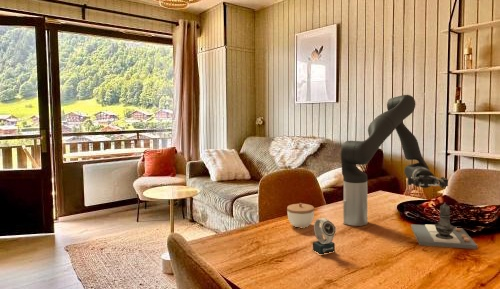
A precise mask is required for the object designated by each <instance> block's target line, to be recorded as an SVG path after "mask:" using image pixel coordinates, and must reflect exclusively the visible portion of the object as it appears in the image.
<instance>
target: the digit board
mask: <svg viewBox="0 0 500 289" xmlns="http://www.w3.org/2000/svg"><path fill="white" fill-rule="evenodd" d="M410 225H411V226H410V227H411V230H412V232H413V234H414V236H415V239H416V241H417V243H418V245H419V246H425V247H426V246H429V247H442V248H443V247H444V248H454V249H455V248H458V249H472V250H478V244H477V243H476V242H475V241H474V240H473V238H472V237H471V236H469V234H468V233H467V231H466V230H465V229H464V228H457V227H458V226H454V229H453V232H452V233H451V234H450V235H451V236H453V239H441V238H438V237H436V234H438V232H437V230H436V227H435V224H428V223H427V224H413V223H412V224H410Z"/></svg>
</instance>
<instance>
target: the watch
mask: <svg viewBox="0 0 500 289" xmlns="http://www.w3.org/2000/svg"><path fill="white" fill-rule="evenodd" d="M313 229H314V230H313V231H314V234H315V238H316V241H313V242H312V251H313V250H314V251H316V252H318V253H319V254H324V253H329V252H333V251H335V252H336V250H335V246H336V244H335V242H334V238H335V234H336V226H335V224H334V223H333V222H332V221H330V220H329V219H327V218H325V217H322V218H317V219H316V220H315V221H314V224H313Z"/></svg>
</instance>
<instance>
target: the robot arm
mask: <svg viewBox="0 0 500 289" xmlns="http://www.w3.org/2000/svg"><path fill="white" fill-rule="evenodd" d="M386 108H387V110H386V111H384V112H382V113H381V114H379V115H378V116H376V117H375V118H374V119H373V120H372V121H371V122H370V123H369V125H368V128H367V133H368V137H367V138H366V139H365V140H345V141H344V142H343V143H342V145H341V149H340V160H341V161H340V164H341V175H342V179H343V181H342V182H343V201H342V202H343V208H342V209H343V213H342V214H343V225H349V226H353V227H357V226H358V227H362V226H366V225H368V218H369V217H368V174H367V173H366V172H364V171H362V170H361V169H359V168H358V166H357V165H361V166H362V165H366V164H369V163H370V161H371V160H372V158H373V157H374V156H375V154H376V153H377V151H378V150H379V148H380V147H381V146H382V145H383V144H384V142H385V141H386V140H387V139H388V138H389V137H390V136H391V135H392V133H393V132H394V131H396V133H397V135H398V138H399V141H400V143H401V148H402V151H403V155H404V158H405V160H408V161H417V163H412V164H407V165H406V166H405V167H404V170H403V171H404V175H405V177H406V178H407V179H406V180H407V182H406V183H407V185H409V186H411V185H413V186H415V187H417V188H422V189H423V188H424V189H427V188H430V187H432V186H433V187H440V188H441V189H444V188H446V187H448V186H449V179H447V178H446V177H440V178H439V177H437V176H435V175H434V173H432V171H430V167H429V166H428V165H427V162H426V161H425V159H424V158H423V155H422V153H421V149H420V145H419V142H418V139H417V137H416V136H415V135H414V134H413V133H412V131H410V129H408V127H407V126H406V125H405V123H404V122H403V121H404V120H405V119H406V118H408V117H409V116H411V114H413V113H414V111H415V109H416V99H415V98H414V97H413V96H412V95H410V94H402V95H399V96H398V95H397V96H394V97H391V98H389V99H388V100H387V103H386Z"/></svg>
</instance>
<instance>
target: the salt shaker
mask: <svg viewBox="0 0 500 289" xmlns="http://www.w3.org/2000/svg"><path fill="white" fill-rule="evenodd" d="M446 203H447V202H445V201H444V203H443V204H441V205H440V206H439V213H438V216H439V221H438V223H435V224H434V225H435V227H436V230H437V232H438V234H436V237H438V238H441V239H453V236H451V235H450V234H451V233H452V232H453V229H454V227H455V226H454V225H452V224H451V221H450V220H451V218H450V217H452V215H451V214H450V206H449V205H448V204H446Z"/></svg>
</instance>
